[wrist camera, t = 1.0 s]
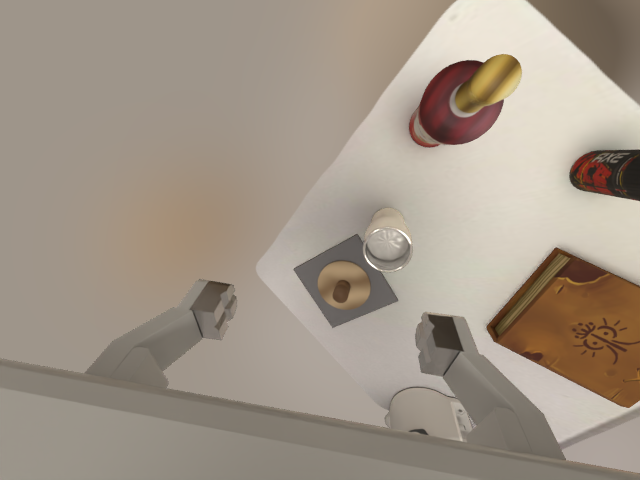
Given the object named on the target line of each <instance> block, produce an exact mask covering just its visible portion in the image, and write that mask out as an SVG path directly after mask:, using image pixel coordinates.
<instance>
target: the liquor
mask: <svg viewBox="0 0 640 480" xmlns="http://www.w3.org/2000/svg"><path fill="white" fill-rule="evenodd" d="M521 75H522V70H521V66H520V63H519V62H518V60H517V59H516V58H514V57H513V56H511V55H507V54H501V55H496V56H494V57H491V58H490V59H488V60H487V61H486V62H484V63H483V62H479V61H474V60H466V61H460V62H457V63H454V64H452V65H449V66H448V67H446V68H444V69H443V70H442V71H440V72H439V73H438V74H437V75H436V76H435V77H434V78H433V79H432V80H431V81H430V83H429V85H428V86H427V88H426V89H425V92H424V94H423V97H422V100H421V102H420V105H419V107H418V108H417V109H416V111H415V112H414V113H413V115H412V117H411V120H410V124H409V130H410V134H411V137H412V138H413V140H414V141H415V142H416V143H417V144H419V145H421V146H423V147H435V146H438V145H440V144H443V145H457V144H464V143H467V142H471V141H473V140H475V139H477V138H479V137H480V136H481V135H483V134H484V133H485V132H487V131H488V130H489V129H490V128H491V127H492V125H493V124H494V123H495V121H496V120H497V118H498V116H499V114H500V112H501V109H502V106H503V102H504V99H505V98H507V97H508V96H509V95H511V94H512V93H513V92H514V91H515V89H516V88H517V86H518V84H519V83H520V80H521Z"/></svg>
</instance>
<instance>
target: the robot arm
mask: <svg viewBox="0 0 640 480" xmlns="http://www.w3.org/2000/svg"><path fill="white" fill-rule="evenodd" d="M234 292H235V288H234V285H232V284H226V283H220V282H215V281H208V280H202V279H199V280H198V281H196V282H195V283H194V285H193V286H192V288H191V289H190V290H189V292H188V293H187V294H186V296H185V297H184V298H183V300H182V301H181V303H180V304H179V305H178V307H177V308H174V307H173V308H171V309H169V310H168V311H166V312H164V313H162V314H161V315H159V316H157V317H155V318H153V319H151V320H150V321H148V322H146V323H144V324H143V325H141V326H139V327H137V328H135V329H133V330H132V331H130V332H128V333H126V334H124V335H123V336H121V337H119V338H117V339H115V340H114V341H112V342H111V343H110V345H109V346H108V347H107V348H106V349H105V350H104V352H103V353H102V354H101V355H100V356H99V357H98V358H97V359H96V361H95V362H94V363H93V364H92V365H91V366H90V367H89V369H88V370H87V371H86V372H85V373H79V372H73V371H68V370H62V369H56V368H51V367H45V366H40V365H34V364H29V363H23V362H17V361H12V360H7V359H1V358H0V480H640V473H634V472H629V471H623V470H618V469H612V468H607V467H601V466H596V465H589V464H584V463H579V462H573V461H567V460H566V459H565V457H564V455H563V453H562V450H561V448H560V446H559V444H558V442H557V440H556V438H555V436H554V434H553V432H552V430H551V428H550V426H549V424H548V422H547V420H546V418H545V416H544V414H543V413H542V412H541V411H540V410H539V409H538V408H537V407H536V406H535V405H534V404H533V403H532V402H531V401H530V400H529V399H528V398H527V397H526V396H525V395H524V394H523V393H522V392H520V391H519V390H518V389H517V388H516V387H515V386H514V385H513V384H512V383H511V382H510V381H509V380H508V379H507V378H506V377H505V376H504V375H503V374H502V373H501V372H500V371H499V370H498V369H497V368H496V367H495V366H494V365H493V364H492V363H491V362H490V361H489V360H488V359H487V358H486V357H485V356H484V355H480V354H479V352H478V350H477V347H476V345H475V342H474V340H473V337H472V334H471V332H470V329H469V327H468V324H467V322H466V319H465V318H464V317H459V316H452V315H446V314H439V313H431V312H424V313H423V315H422V317H421V318H422V322H421V323H419V324H418V326H417V328H416V334H415V339H416V346H417V348H418V349H419V350H420V351H421V352H420V354H419V356H418V358H419V363H420V368H421V373H426V374H431V375H437V376H442V377H443V379H444V380H445V382H446V383H447V384H448V386H449V387H450V389H451V390H452V392H453V393H454V394H455V396H456V397H457V399H456V398H451V397H447V396H445V395H443V394H441V393H439V392H437V391H434V390H431V389H426V388H410V389H406V390H403V391H401V392H399V393H398V394H397V395H395V397H394V398H393V399H392V401H391V405H390V411H389V413H388V414H387V415H386V417H385V423H386V425H387V426H388V427H389V428H385V427H379V426H373V425H368V424H363V423H357V422H351V421H346V420H340V419H335V418H329V417H324V416H318V415H312V414H307V413H301V412H295V411H290V410H285V409H279V408H274V407H267V406H262V405H257V404H251V403H245V402H240V401H235V400H228V399H223V398H218V397H212V396H207V395H201V394H195V393H190V392H184V391H179V390H173V389H168V388H167V386H168V380H167V378H166V376H165V375H164V373H163V371H164V370H165V369H166V368H167V367H169V366H170V365H171V364H172V363H173V362H175V361H176V360H177V359H178V358H180V357H181V356H182V355H183V354H185V353H186V352H187V351H188V350H189V349H191V348H192V347H193V346H194V345H196V344H197V343H198V342H199V341H200V340H201V339H202V338H209V339H216V340H222V339H223V337H224V335H225V333H226V331H227V329H228V323H227V322H228V321H229V320H231V319H232V318H233V316H234V315H235V312H236V308H237V298H236V296H235V295H234V294H233V293H234ZM468 414H469V416H470V417H471V418H472V420H473V421H474V423H475V424H476V427H475V428H474V429H473V428H472V425H471V422H470V419H469V416H468Z"/></svg>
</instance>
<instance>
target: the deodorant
mask: <svg viewBox="0 0 640 480" xmlns="http://www.w3.org/2000/svg"><path fill="white" fill-rule="evenodd" d="M570 181H571V183H572V184H573V186H574V187H576V188H577V189H580V190H583V191H588V192H593V193H599V194H604V195H610V196H615V197H621V198H626V199H632V200H637V201H640V150H603V151H593V152H590V153H587V154H585V155H583V156H582V157H580V158H579V159H578V160H577V161H576V162H575V163H574V164H573V166H572V168H571V170H570Z"/></svg>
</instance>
